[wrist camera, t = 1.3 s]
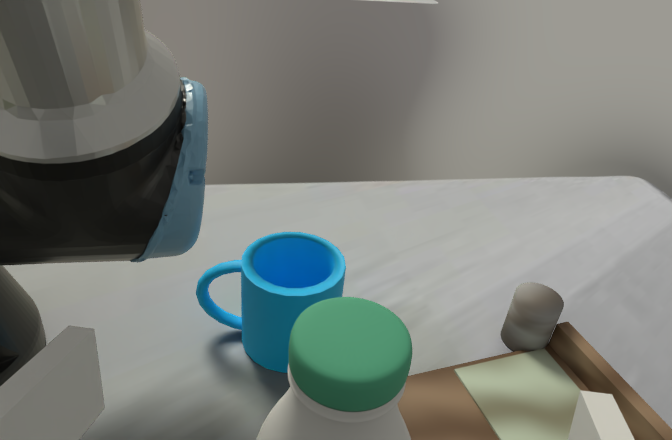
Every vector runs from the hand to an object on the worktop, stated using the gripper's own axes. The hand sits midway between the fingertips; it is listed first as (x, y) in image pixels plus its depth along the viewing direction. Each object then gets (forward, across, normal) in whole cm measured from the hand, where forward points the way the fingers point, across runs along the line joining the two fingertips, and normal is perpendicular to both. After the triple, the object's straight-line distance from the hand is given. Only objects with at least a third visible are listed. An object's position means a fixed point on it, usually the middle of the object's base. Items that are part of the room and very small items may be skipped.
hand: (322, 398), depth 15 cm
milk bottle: (+9, -1, -21) cm, 23 cm away
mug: (+27, -9, -17) cm, 33 cm away
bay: (+24, +9, -19) cm, 32 cm away
